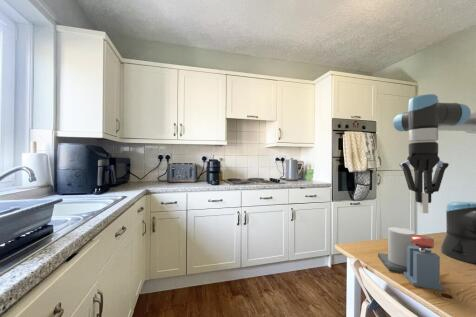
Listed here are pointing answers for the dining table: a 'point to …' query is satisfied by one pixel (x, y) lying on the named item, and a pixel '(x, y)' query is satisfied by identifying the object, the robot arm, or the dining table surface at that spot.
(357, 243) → the dining table surface
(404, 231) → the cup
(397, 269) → the press bed
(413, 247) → the press frame
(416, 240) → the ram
